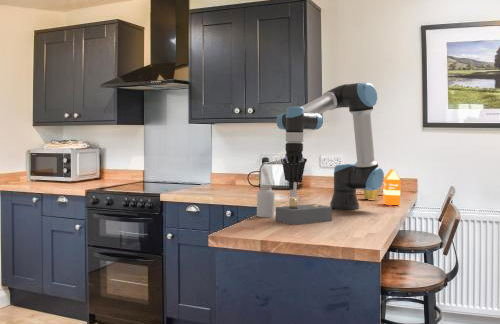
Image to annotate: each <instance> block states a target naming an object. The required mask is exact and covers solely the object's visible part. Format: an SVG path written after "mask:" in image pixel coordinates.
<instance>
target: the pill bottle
mask: <svg viewBox="0 0 500 324" xmlns="http://www.w3.org/2000/svg"><path fill="white" fill-rule="evenodd" d="M259 186H260V187H259V188H260V189H259V190H258V191H257V193H256V194H257V195H256V216H257V217H259V218H264V219H265V218H267V219H268V218H274V217H275V191H274V190H272V189H273V188H272V187H273V186H272V184H271V183H261V184H259Z"/></svg>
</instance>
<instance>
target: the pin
mask: <svg viewBox="0 0 500 324" xmlns="http://www.w3.org/2000/svg"><path fill="white" fill-rule="evenodd" d="M297 205H298V199H297V198H295V197H290V198H289V205H288V206H289V208H290V209H297Z"/></svg>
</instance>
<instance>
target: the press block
mask: <svg viewBox="0 0 500 324" xmlns="http://www.w3.org/2000/svg"><path fill="white" fill-rule="evenodd" d="M311 205H318V207H311ZM289 206H290V205H286V206H276V207H275V217H274V219H275V222H279V223H283V222H284V224H287V223H288V224H287V225H291V224H292V225H291V226H293V224H297V225H305V224H304V223H306V224H313V223H315V224H316V223H324V222H332V219H333V217H332V216H333V213H332V210H333V208H332V207H330V206H326V205H321V204H315V203H309V204H297V209H290V208H289Z"/></svg>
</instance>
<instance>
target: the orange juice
mask: <svg viewBox="0 0 500 324" xmlns="http://www.w3.org/2000/svg"><path fill="white" fill-rule="evenodd" d="M401 182H402V181H401V179H400V177H399V176H398V174H397V172H396V171H395V170H394V169H393V168H391V169H389V171H388V172H387V173H386V175H384V179H383V190H382V191H383V199H382V201H383V202H382V203H384V204H386V205H400V206H401ZM384 204H383V205H384ZM386 205H385V206H386Z"/></svg>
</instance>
